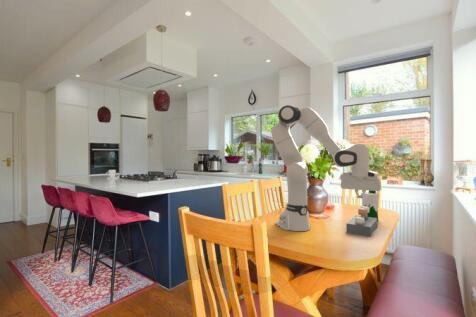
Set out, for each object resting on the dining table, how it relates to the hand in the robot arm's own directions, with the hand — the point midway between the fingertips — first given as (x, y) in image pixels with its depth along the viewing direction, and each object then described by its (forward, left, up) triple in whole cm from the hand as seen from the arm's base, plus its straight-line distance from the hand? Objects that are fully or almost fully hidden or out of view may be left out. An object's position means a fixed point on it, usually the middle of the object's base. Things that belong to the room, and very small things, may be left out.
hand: (360, 198), depth 140 cm
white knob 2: (-8, +13, -14) cm, 21 cm away
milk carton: (-17, +28, -19) cm, 38 cm away
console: (-4, +6, -19) cm, 20 cm away
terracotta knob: (-4, +6, -14) cm, 16 cm away
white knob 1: (0, -1, -18) cm, 18 cm away
